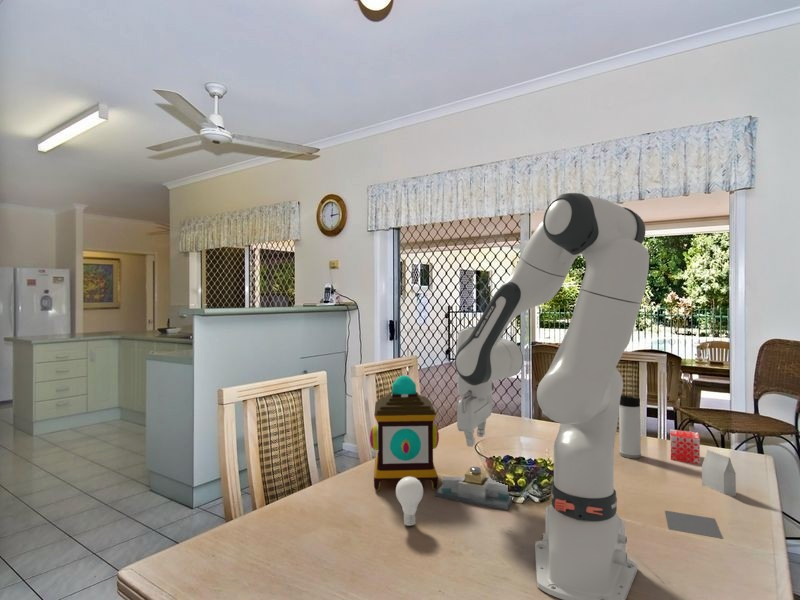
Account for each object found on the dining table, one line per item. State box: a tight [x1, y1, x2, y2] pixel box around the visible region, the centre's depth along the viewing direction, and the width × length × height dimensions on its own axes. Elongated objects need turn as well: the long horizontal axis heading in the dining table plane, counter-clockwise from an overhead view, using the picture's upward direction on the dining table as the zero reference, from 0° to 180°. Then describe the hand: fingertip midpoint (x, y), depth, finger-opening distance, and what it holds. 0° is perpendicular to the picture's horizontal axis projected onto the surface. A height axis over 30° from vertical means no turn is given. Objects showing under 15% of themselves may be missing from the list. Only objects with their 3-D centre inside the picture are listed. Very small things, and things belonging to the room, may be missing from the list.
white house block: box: [701, 449, 737, 497], centre depth 124 cm, size 4×7×10 cm, turn 11°
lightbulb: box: [395, 476, 424, 527], centre depth 106 cm, size 6×6×11 cm
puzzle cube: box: [669, 429, 701, 465], centre depth 150 cm, size 8×8×8 cm
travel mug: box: [618, 394, 642, 460], centre depth 153 cm, size 6×7×20 cm
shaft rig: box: [434, 474, 514, 511], centre depth 122 cm, size 10×19×4 cm, turn 64°
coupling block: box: [464, 466, 487, 485], centre depth 122 cm, size 4×4×6 cm
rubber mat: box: [664, 510, 724, 540], centre depth 104 cm, size 10×10×1 cm
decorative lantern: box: [369, 374, 440, 491], centre depth 134 cm, size 20×20×30 cm
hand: (476, 440), depth 121 cm, fingers open, 8 cm apart
